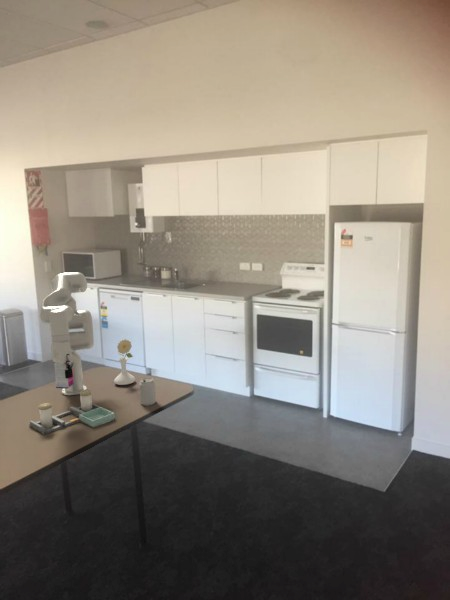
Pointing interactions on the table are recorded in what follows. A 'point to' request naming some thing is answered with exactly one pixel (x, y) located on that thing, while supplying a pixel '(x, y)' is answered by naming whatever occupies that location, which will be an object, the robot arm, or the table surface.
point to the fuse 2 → (86, 400)
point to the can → (147, 391)
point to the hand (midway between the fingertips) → (64, 375)
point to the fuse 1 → (46, 415)
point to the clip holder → (60, 422)
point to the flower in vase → (124, 364)
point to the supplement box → (62, 377)
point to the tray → (97, 417)
